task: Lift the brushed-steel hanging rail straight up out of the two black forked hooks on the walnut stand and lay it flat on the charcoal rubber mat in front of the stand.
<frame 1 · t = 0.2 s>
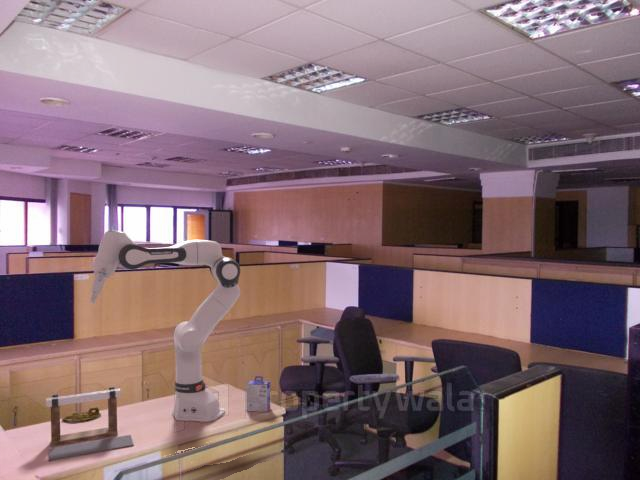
hand: (92, 300, 210), 51 cm above the table, tool tilted 20°, fingers open, 8 cm apart
ink cartridge box: (258, 410, 229), on the table
mat: (91, 447, 191), on the table
hook stand: (85, 437, 200), on the table
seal: (81, 419, 220), on the table
rail: (84, 400, 200), point 14 cm above the table, touching hook stand
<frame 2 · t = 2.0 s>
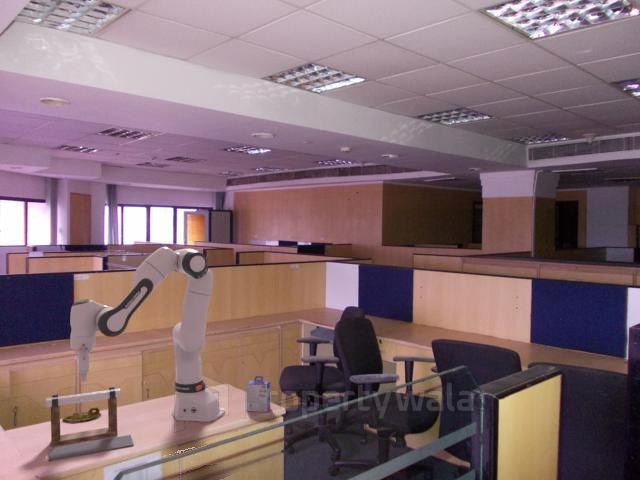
hand: (83, 377, 199), 23 cm above the table, tool pointing down, fingers open, 8 cm apart
nothing on the table moved.
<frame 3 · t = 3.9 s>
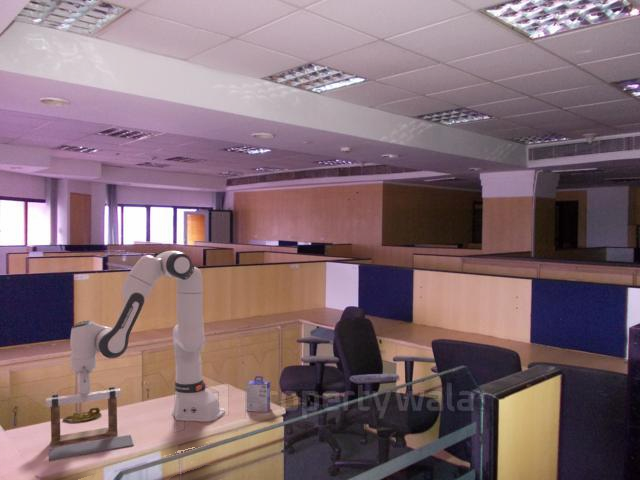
hand: (84, 399, 200), 15 cm above the table, tool pointing down, fingers closed on rail, 3 cm apart
rail: (84, 400, 200), point 14 cm above the table, touching gripper, hook stand
everything else where it was.
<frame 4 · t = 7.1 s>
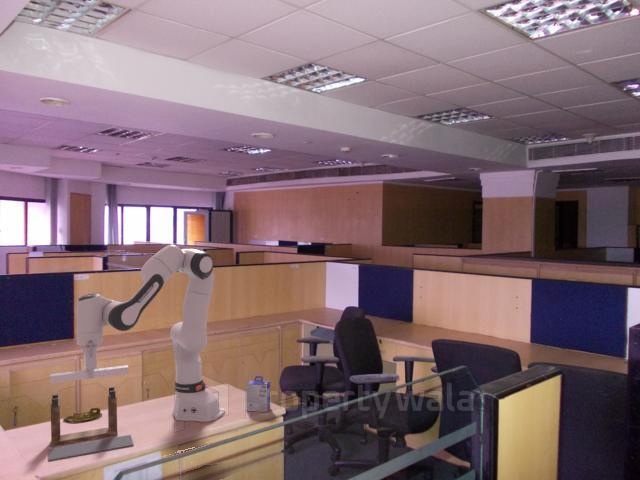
hand: (90, 375, 190), 27 cm above the table, tool pointing down, fingers closed on rail, 3 cm apart
rail: (90, 377, 190), point 26 cm above the table, touching gripper
everything else where it was.
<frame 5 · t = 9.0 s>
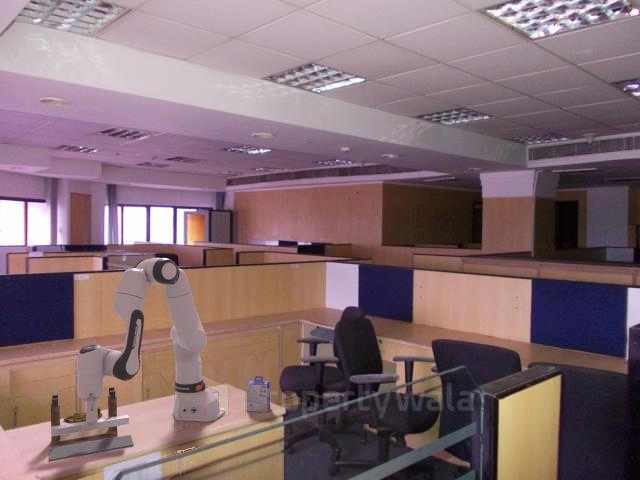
hand: (91, 427, 191), 8 cm above the table, tool pointing down, fingers closed on rail, 3 cm apart
rail: (91, 428, 191), point 7 cm above the table, touching gripper
everything else where it was.
when the fingers open (3 cm above the table, at t = 10.7 s): rail drops 2 cm, resting on mat.
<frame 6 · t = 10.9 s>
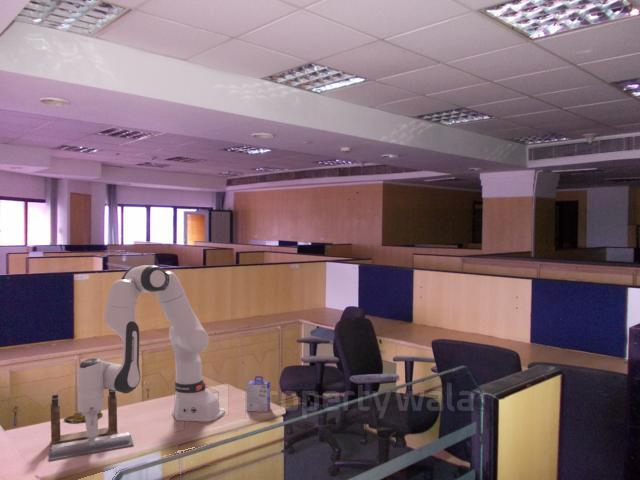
hand: (91, 441, 191), 3 cm above the table, tool pointing down, fingers open, 5 cm apart
rail: (91, 446, 191), resting on mat
everything else where it was.
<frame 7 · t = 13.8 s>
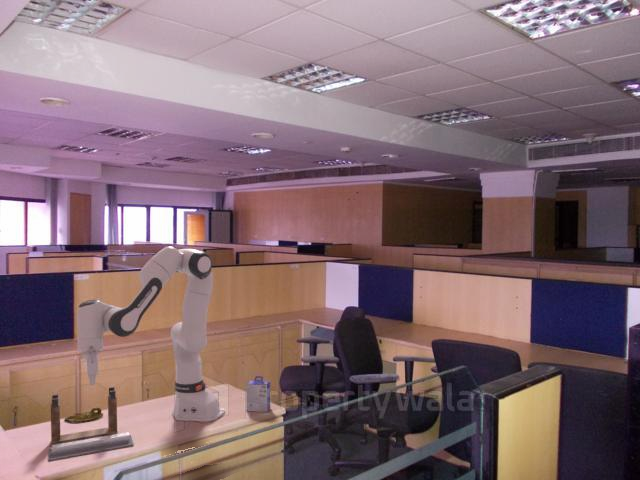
hand: (91, 381, 192), 24 cm above the table, tool pointing down, fingers open, 8 cm apart
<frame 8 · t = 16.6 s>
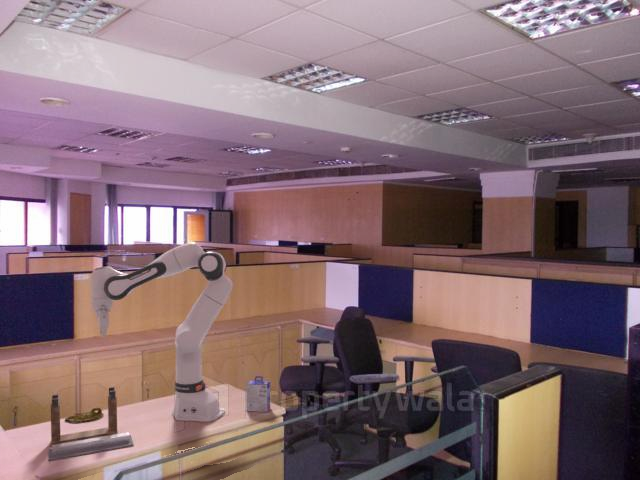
hand: (103, 335, 225), 34 cm above the table, tool pointing down, fingers open, 8 cm apart
at the end: rail inside the target area on the mat (0.0 cm from its centre), point 0.5 cm above the mat's base; rail tilted 0°; the gripper is holding nothing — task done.
